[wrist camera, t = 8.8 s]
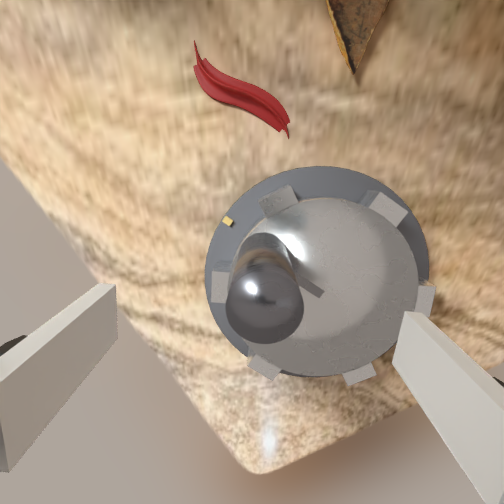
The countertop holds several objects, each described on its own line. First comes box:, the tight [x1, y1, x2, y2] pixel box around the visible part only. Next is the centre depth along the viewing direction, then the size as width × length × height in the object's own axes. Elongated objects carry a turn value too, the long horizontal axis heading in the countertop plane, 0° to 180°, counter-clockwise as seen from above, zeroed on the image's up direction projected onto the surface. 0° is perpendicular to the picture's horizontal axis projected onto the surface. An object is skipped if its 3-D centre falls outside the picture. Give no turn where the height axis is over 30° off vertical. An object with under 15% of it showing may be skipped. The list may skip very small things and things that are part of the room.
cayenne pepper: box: [194, 40, 290, 139], centre depth 27 cm, size 12×5×2 cm, turn 39°
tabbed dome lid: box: [211, 184, 436, 386], centre depth 23 cm, size 18×19×13 cm
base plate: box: [205, 166, 429, 377], centre depth 30 cm, size 21×21×2 cm
